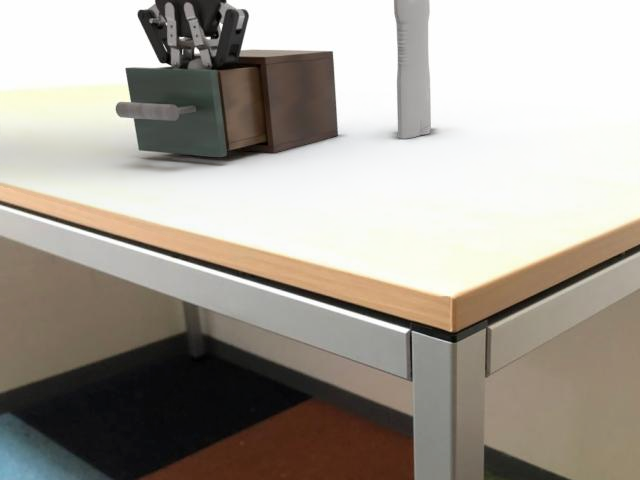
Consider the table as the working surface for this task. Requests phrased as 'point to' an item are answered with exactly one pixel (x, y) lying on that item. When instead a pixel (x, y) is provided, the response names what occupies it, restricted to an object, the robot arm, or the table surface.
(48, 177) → the table surface
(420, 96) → the tall pale column
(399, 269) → the table surface
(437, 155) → the table surface
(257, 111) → the drawer
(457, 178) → the table surface
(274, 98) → the cabinet
